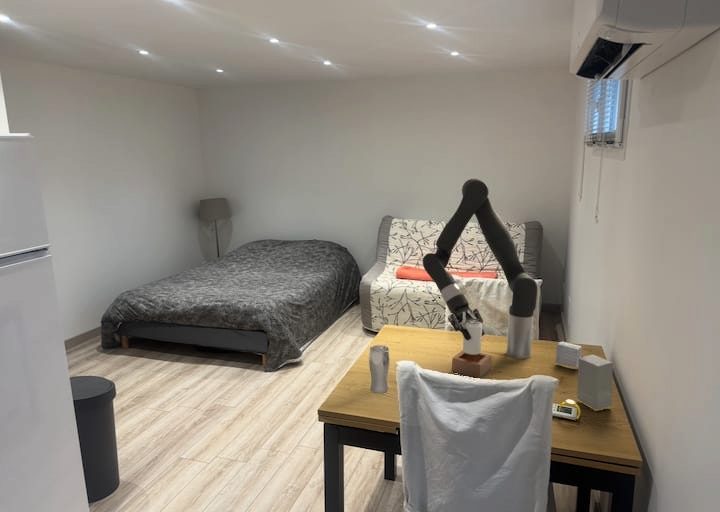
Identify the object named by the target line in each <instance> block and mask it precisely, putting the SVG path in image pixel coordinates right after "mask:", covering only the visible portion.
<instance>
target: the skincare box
mask: <svg viewBox="0 0 720 512" xmlns="http://www.w3.org/2000/svg"><path fill="white" fill-rule="evenodd" d="M613 365H614V363H613V362H611V361H609V360H607V359H605V358H603V357H601V356H598V355H595V354H590V355H589V354H588V355H585V356H581V357H580V358H579V364H578V370H577V371H578V372H577V399H579V400H580V401H582V402H583V403H585V404H587V405H589V406H591V407H592V408H594V409H601V408H604V407H608V406H611V407H612V397H613V396H612V395H613V369H614V368H613Z"/></svg>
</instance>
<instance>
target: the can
mask: <svg viewBox="0 0 720 512" xmlns="http://www.w3.org/2000/svg"><path fill="white" fill-rule="evenodd" d="M465 326H466V329H467V330H468V332H469V334H470V336H471V339H470V340H466V339H465V338H464V337H463V338H462V339H463V341H462V350H463V351H464V352H465V353H466V354H469V355H477V354H479V353H482V340H483V339H482V338H483V336H482V329H483V323H482V324H481V320H479V319H473V318H470V320H467V319H466V324H465Z"/></svg>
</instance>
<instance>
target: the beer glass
mask: <svg viewBox="0 0 720 512" xmlns="http://www.w3.org/2000/svg"><path fill="white" fill-rule="evenodd" d="M390 359H391V356H390V347H388V346H386V345H381V344H377V345H372V346H370V347H369V357H368V361H369V362H368V364H369V370H370V378H371V382H370V389H369V390H370V392H371V393H373V394H377V395H381V394H386V393H387V392H388V391H389V388H388V387H389V386H388V374H389V371H390V369H389V368H390V361H391V360H390Z"/></svg>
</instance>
